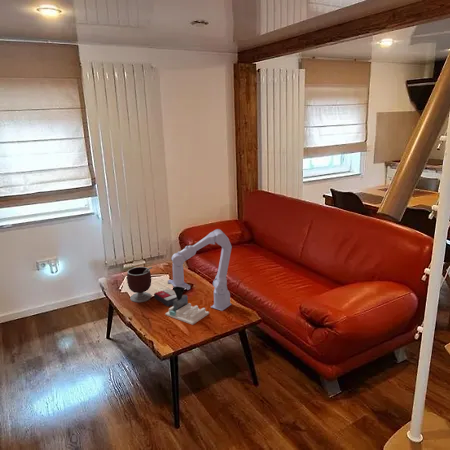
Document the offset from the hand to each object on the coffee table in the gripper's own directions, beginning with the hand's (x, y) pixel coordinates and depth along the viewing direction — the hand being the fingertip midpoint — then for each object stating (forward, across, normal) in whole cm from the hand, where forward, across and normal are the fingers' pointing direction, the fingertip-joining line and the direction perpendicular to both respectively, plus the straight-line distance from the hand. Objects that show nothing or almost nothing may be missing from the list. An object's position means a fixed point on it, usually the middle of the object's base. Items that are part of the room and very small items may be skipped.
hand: (179, 298), depth 211 cm
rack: (+8, +5, 0) cm, 9 cm away
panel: (+7, 0, +1) cm, 7 cm away
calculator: (+9, -16, +8) cm, 20 cm away
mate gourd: (+8, -31, +1) cm, 32 cm away
